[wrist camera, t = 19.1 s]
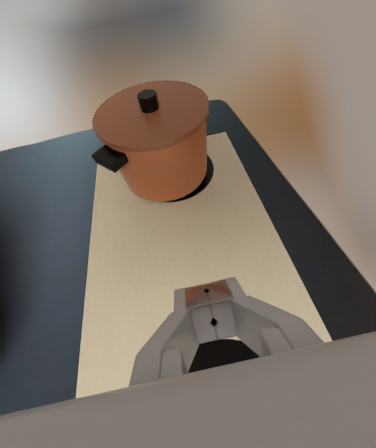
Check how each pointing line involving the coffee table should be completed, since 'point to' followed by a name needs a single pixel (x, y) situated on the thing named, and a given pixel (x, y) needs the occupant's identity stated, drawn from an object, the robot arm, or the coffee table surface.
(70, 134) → the coffee table surface
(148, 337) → the hob
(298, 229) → the coffee table surface
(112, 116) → the pot
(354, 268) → the coffee table surface
